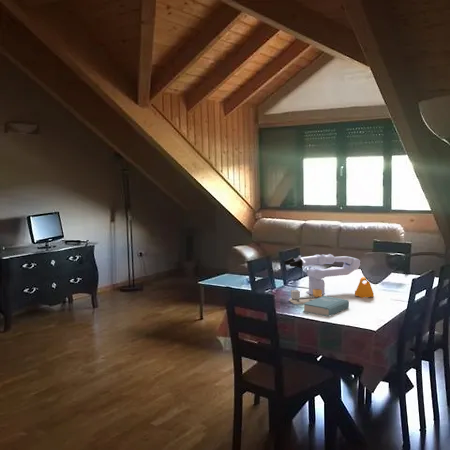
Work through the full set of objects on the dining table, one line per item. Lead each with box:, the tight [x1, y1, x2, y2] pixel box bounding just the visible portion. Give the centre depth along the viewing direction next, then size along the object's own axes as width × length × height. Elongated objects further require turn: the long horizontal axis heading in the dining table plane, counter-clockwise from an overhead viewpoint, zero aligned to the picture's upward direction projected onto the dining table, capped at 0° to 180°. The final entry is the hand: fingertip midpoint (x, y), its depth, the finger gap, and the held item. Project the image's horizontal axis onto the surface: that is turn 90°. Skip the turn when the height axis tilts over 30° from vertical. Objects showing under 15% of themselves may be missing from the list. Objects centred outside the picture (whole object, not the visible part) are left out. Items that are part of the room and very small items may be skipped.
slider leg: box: [312, 289, 323, 298], centre depth 330 cm, size 4×7×5 cm, turn 14°
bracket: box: [354, 276, 375, 298], centre depth 341 cm, size 11×7×12 cm, turn 79°
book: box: [303, 295, 350, 317], centre depth 309 cm, size 23×16×5 cm
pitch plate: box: [288, 289, 319, 305], centre depth 328 cm, size 22×9×6 cm, turn 104°
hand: (287, 263), depth 339 cm, fingers open, 7 cm apart
